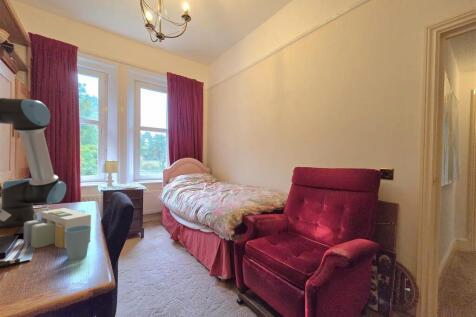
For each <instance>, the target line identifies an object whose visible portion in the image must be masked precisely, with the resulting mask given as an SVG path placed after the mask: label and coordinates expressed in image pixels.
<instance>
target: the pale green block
mask: <svg viewBox="0 0 476 317" xmlns="http://www.w3.org/2000/svg"><path fill="white" fill-rule="evenodd" d="M53 244H54V245H55V222H49V223H41V224H36V225H34V226H32V236H31V244H30V246H31V247H32V248H34V249H39V248H42V247H45V246H49V245H53Z"/></svg>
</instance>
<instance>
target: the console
mask: <svg viewBox="0 0 476 317" xmlns="http://www.w3.org/2000/svg"><path fill="white" fill-rule="evenodd" d="M42 219H47V223H49V222H55V242H56V226H58V225H60V224H62V225H65V230H66V229H67V228H70V227H74V226H81V225H88V226H91V225H92V214H89V213H86V212H83V211H82V212H81V211H78V210H73V209H72V208H71V209H70V208H67V207H60V208H56V209H55V208H54V209H51V210H48V211H46V210H41V211H40V220H42ZM91 227H92V226H91ZM65 230H64V247H63V248H65V249H67V247H66V238H65ZM90 235H92V234H91V231H90ZM89 242H91V236H90V237H89Z"/></svg>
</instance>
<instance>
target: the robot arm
mask: <svg viewBox="0 0 476 317" xmlns="http://www.w3.org/2000/svg"><path fill="white" fill-rule="evenodd" d="M50 119H51V112H50V110H49V108H48V107H47V105H45V104H44V103H43V102H42V101H40V100H35V99H30V98H8V97H7V98H6V97H0V124H5V125H12V127H13V131H16V132H17V133H19V136H20V139H21V143H22V147H23V150H24V153H25V154H24V155H25V158H26V161H27V165H28V169H29V172H30V175H31V178H22V179H15V180H6V181H4V182H3V183H2V187H1V208H0V228H3V229H5V228H16V227H22V226H23V227H24V223H26V222H28V221H33V220H34V219H33V215H34V213H35V212H36V210H35V209H34V204H47V205H50V204H57V203H60V202H61V201H62V200H63V199H64V197H65V195H66V192H67V183H65V182H64V181H62V180H60V179H59V176H58V175H57V174H54V169H53V165H52V160H51V158H50V153H49V148H48V144H47V140H46V137H45V136H46V135H45V130H46V129H47V125H49V124H50V122H51V120H50ZM35 217H36V220H38V216H37V214H36V215H35Z"/></svg>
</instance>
